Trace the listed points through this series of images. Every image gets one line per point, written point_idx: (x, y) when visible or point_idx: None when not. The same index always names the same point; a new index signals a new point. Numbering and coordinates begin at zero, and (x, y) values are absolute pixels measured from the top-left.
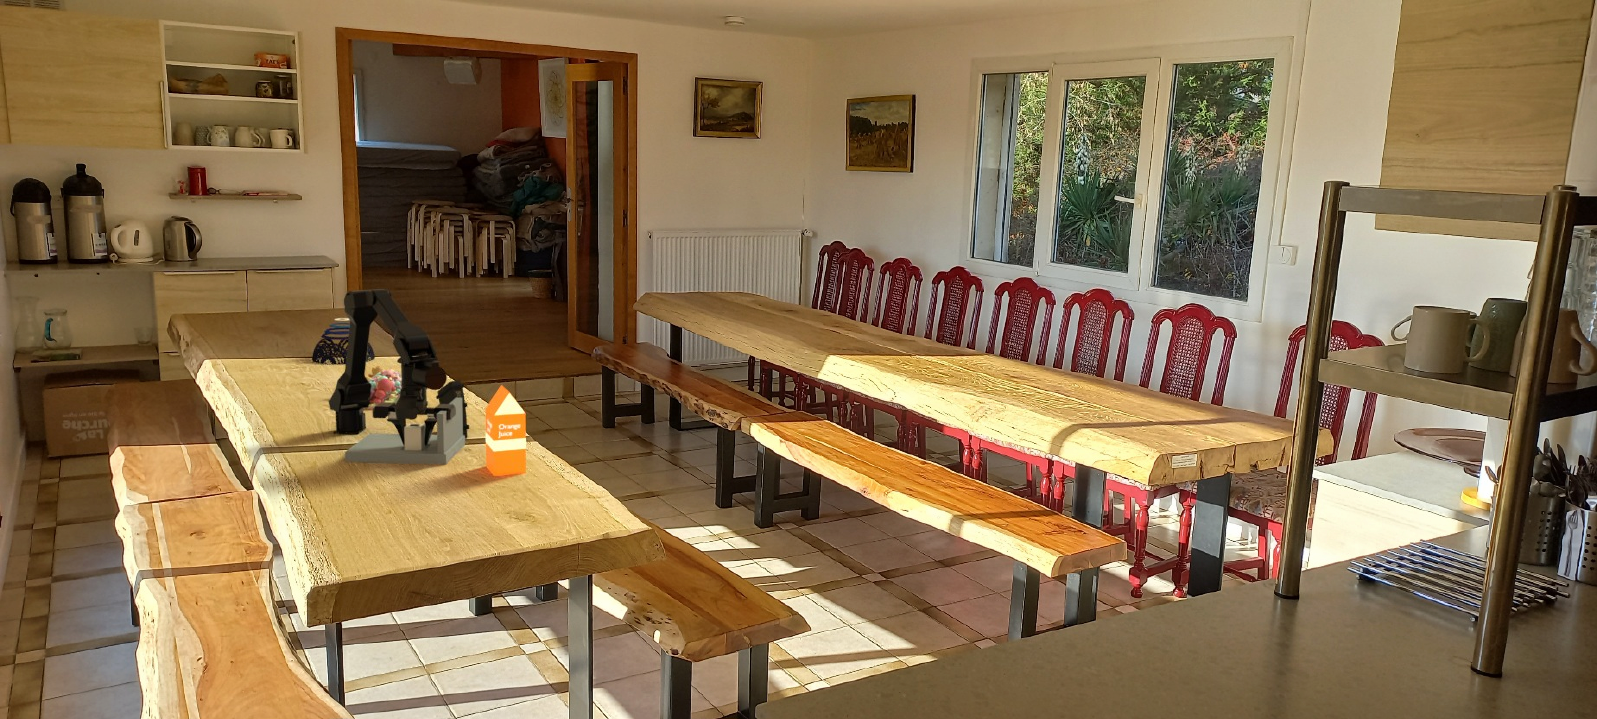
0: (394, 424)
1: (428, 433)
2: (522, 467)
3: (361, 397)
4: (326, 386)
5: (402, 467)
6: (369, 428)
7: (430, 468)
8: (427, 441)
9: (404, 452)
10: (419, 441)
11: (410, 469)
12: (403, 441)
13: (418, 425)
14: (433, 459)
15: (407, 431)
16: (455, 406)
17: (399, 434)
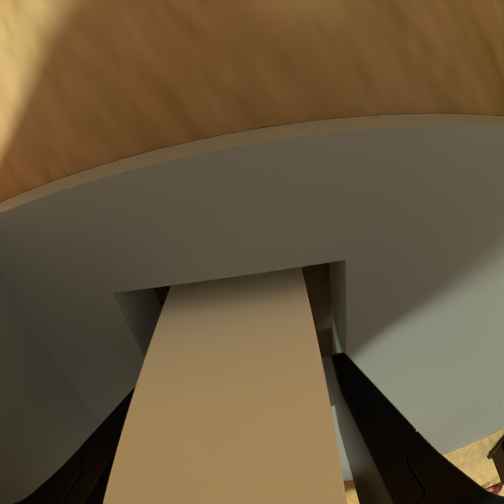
0: (492, 500)
1: (81, 450)
2: None
3: None
4: (499, 494)
5: (198, 21)
6: (479, 458)
7: (11, 89)
8: (127, 396)
9: (249, 177)
10: (156, 371)
11: (112, 2)
12: (347, 372)
13: None
14: (23, 196)
15: (292, 467)
16: None
17: (401, 418)
